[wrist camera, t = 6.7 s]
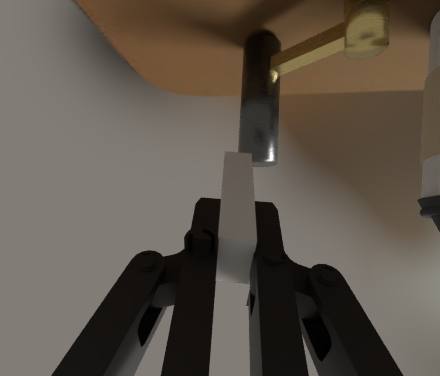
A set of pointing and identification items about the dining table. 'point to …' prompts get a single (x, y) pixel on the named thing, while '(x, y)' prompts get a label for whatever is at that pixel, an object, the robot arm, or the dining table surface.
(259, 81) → the lever
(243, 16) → the dining table surface
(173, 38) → the dining table surface
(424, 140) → the coffee cup
